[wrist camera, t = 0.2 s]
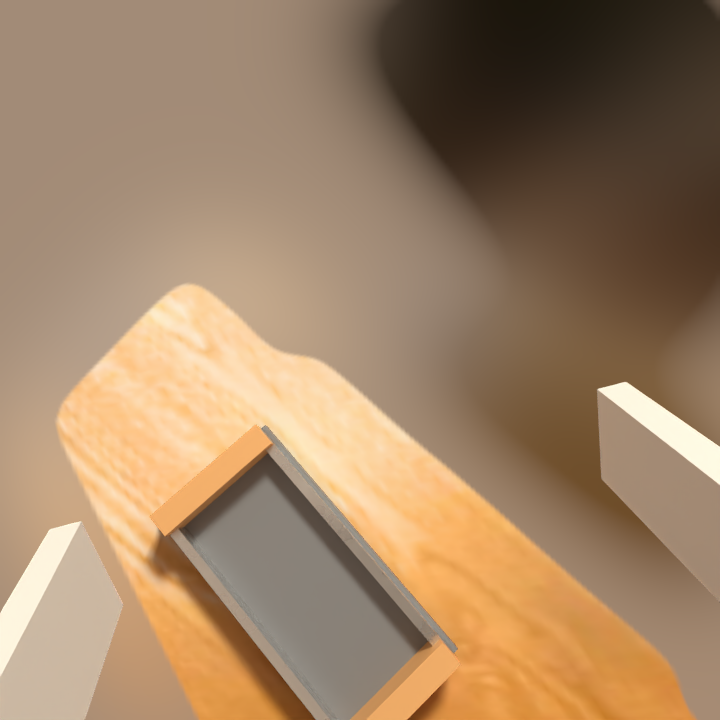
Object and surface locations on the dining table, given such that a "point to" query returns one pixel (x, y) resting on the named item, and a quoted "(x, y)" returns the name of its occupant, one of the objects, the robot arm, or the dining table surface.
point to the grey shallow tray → (307, 585)
